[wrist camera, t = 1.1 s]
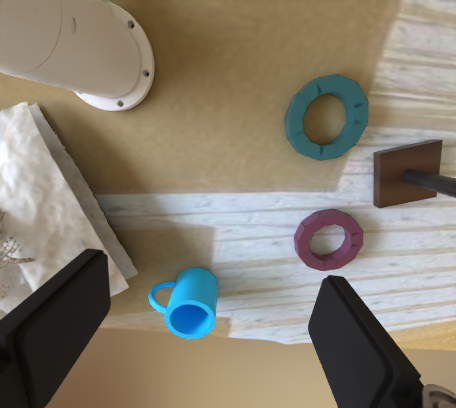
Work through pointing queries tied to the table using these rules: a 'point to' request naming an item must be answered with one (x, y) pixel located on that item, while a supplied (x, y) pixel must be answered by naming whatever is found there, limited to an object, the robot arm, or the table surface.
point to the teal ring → (354, 116)
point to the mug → (189, 303)
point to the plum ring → (341, 255)
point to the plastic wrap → (46, 210)
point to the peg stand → (410, 174)
